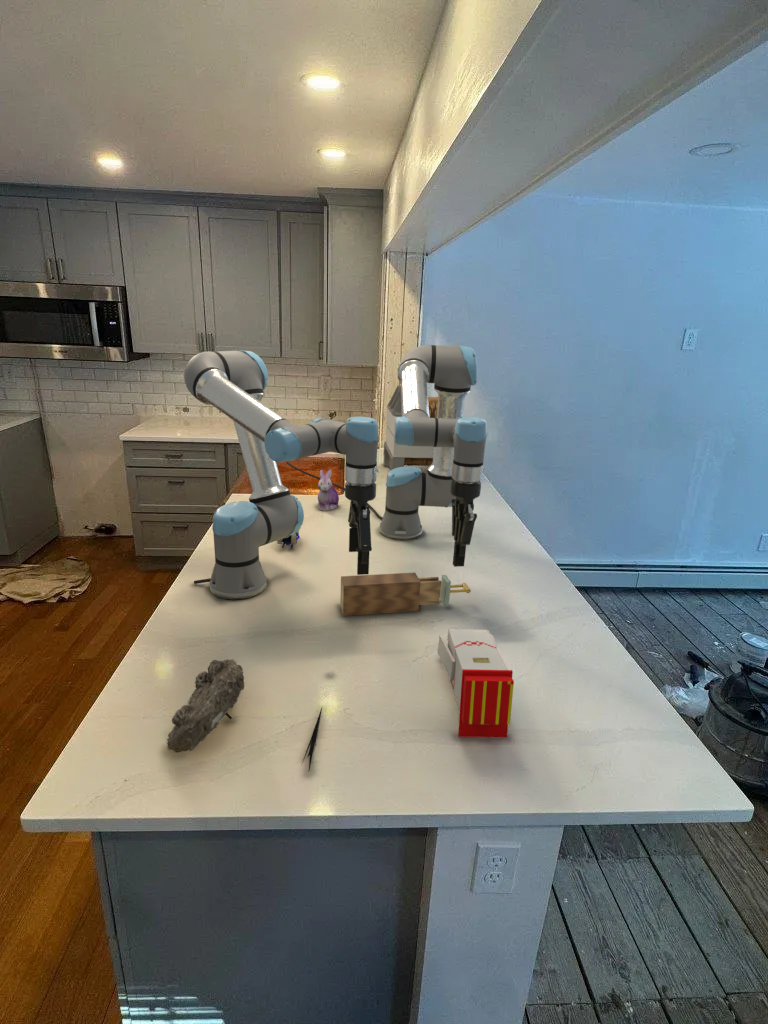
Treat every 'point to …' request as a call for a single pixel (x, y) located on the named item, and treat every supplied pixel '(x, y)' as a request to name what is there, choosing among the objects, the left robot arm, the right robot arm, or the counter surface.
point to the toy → (478, 682)
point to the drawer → (438, 590)
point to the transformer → (402, 453)
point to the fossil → (206, 705)
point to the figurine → (327, 492)
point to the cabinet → (379, 593)
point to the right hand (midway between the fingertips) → (458, 565)
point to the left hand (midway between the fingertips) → (358, 562)
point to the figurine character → (289, 540)
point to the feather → (313, 740)
